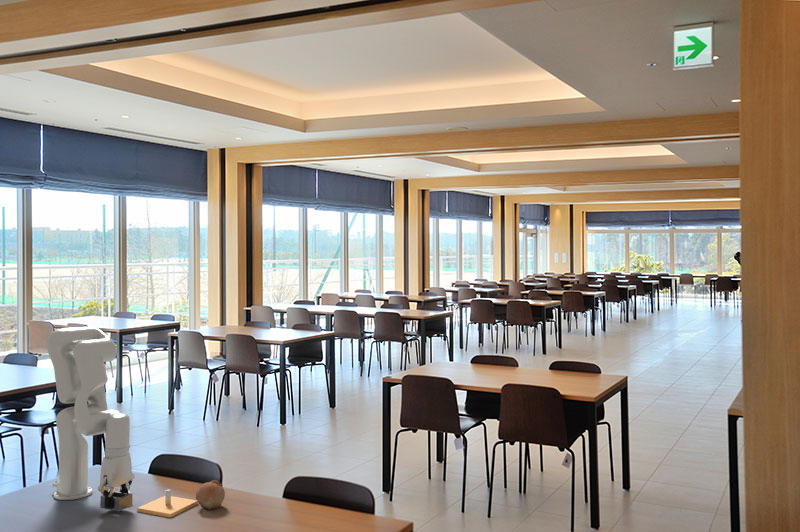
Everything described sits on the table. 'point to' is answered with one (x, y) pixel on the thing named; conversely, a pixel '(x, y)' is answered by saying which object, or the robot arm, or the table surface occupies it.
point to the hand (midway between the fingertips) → (116, 504)
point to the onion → (210, 494)
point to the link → (118, 501)
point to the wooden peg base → (167, 505)
